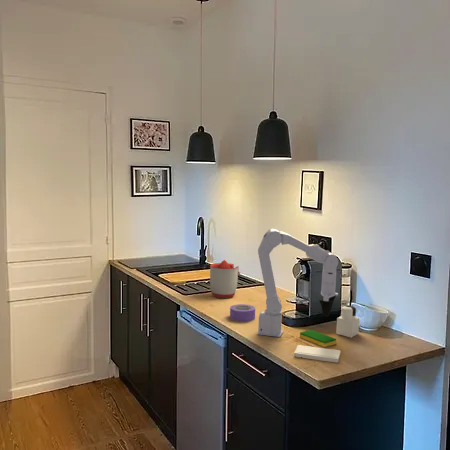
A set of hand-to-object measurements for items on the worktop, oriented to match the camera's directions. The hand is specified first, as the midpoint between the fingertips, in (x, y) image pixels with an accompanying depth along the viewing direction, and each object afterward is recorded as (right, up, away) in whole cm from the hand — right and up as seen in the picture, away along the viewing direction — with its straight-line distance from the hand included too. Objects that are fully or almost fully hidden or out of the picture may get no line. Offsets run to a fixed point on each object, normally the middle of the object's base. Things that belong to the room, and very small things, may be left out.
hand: (326, 314), depth 200 cm
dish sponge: (-5, -11, -4) cm, 12 cm away
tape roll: (-34, -7, +24) cm, 42 cm away
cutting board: (-8, -12, -21) cm, 25 cm away
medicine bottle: (+10, -10, +5) cm, 14 cm away
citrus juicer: (-43, -2, +63) cm, 76 cm away
